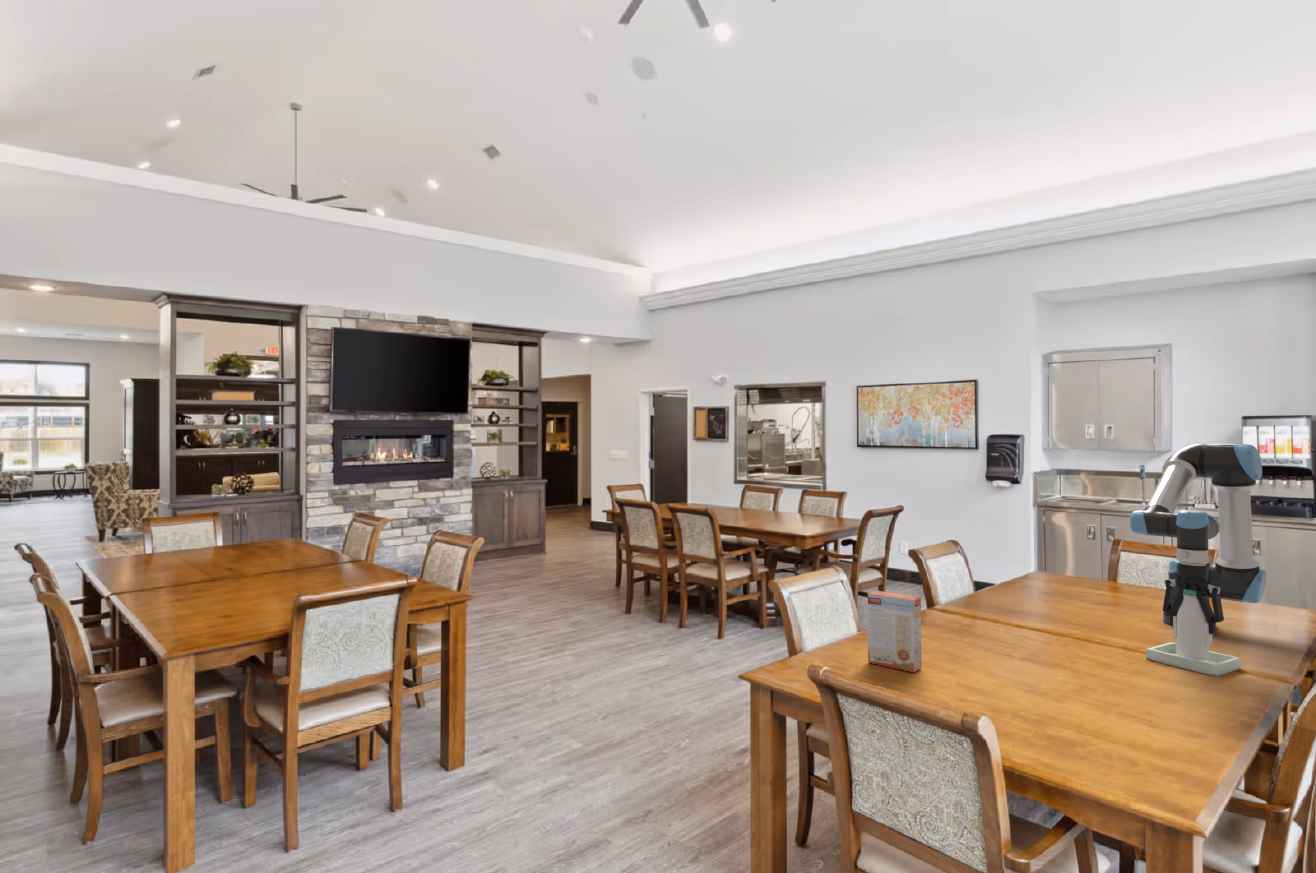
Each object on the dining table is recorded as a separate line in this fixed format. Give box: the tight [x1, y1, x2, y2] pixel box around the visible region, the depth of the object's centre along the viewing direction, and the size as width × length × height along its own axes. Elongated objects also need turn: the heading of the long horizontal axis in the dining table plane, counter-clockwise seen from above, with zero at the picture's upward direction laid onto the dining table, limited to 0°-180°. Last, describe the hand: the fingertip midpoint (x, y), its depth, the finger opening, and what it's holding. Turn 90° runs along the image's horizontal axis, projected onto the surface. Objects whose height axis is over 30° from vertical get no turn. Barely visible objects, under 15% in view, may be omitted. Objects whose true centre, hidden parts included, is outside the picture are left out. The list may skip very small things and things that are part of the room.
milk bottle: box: [1175, 589, 1210, 661], centre depth 210 cm, size 8×8×20 cm
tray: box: [1145, 641, 1242, 677], centre depth 210 cm, size 14×18×3 cm
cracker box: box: [867, 590, 922, 673], centre depth 209 cm, size 14×6×21 cm, turn 47°
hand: (1192, 640), depth 210 cm, fingers closed on milk bottle, 7 cm apart
